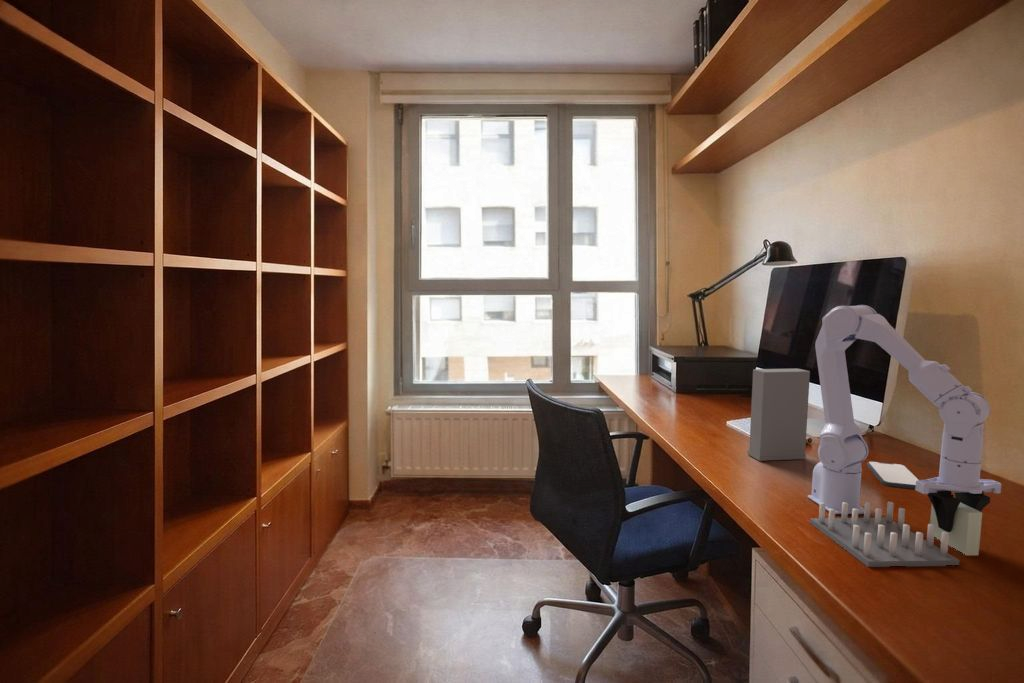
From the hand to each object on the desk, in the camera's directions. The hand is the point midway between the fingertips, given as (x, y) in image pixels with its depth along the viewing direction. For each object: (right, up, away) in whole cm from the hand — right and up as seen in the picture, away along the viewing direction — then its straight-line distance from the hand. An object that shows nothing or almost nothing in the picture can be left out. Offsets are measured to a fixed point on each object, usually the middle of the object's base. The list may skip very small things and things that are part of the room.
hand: (954, 529), depth 98 cm
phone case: (+15, 0, +35) cm, 38 cm away
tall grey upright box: (-8, +2, +51) cm, 52 cm away
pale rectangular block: (0, -3, 0) cm, 3 cm away
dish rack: (-14, -3, +1) cm, 14 cm away
